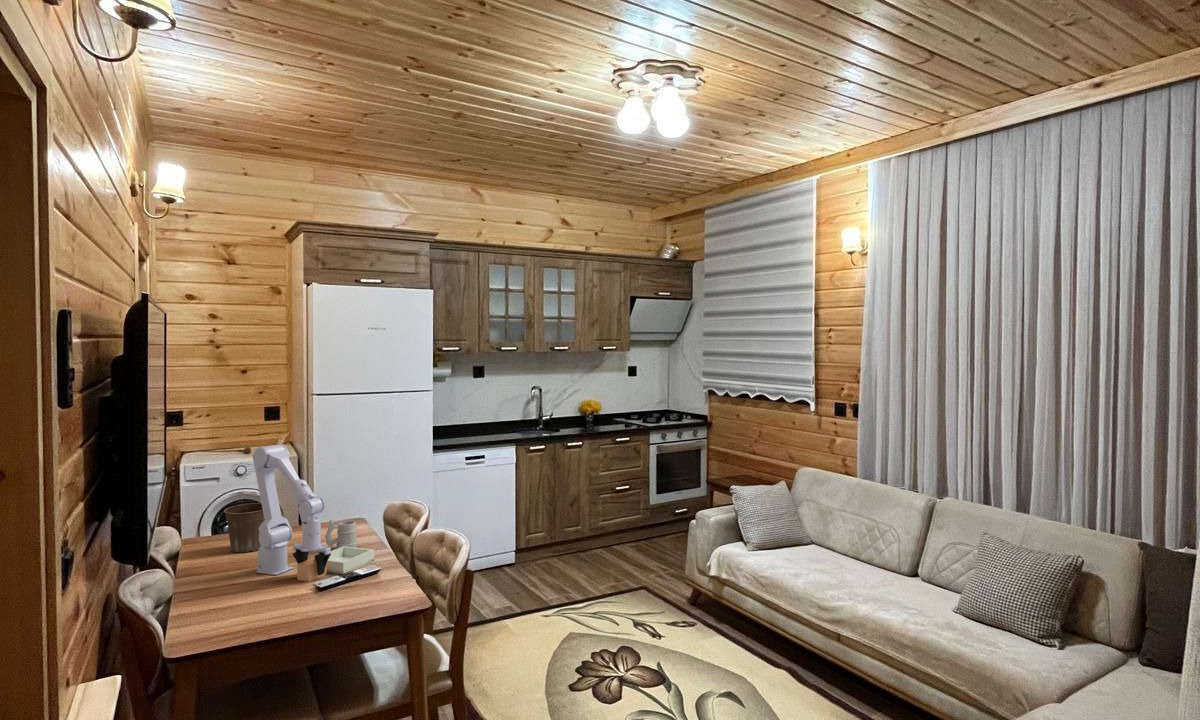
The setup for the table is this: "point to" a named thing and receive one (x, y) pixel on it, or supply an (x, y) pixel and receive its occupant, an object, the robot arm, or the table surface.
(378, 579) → the table surface
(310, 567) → the box
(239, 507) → the plant pot
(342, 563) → the big crate
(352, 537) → the mug
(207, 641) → the table surface
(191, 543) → the table surface
